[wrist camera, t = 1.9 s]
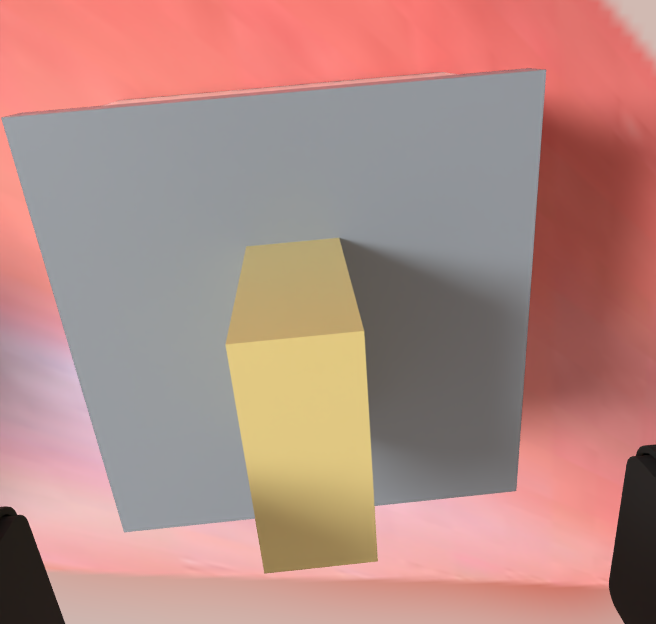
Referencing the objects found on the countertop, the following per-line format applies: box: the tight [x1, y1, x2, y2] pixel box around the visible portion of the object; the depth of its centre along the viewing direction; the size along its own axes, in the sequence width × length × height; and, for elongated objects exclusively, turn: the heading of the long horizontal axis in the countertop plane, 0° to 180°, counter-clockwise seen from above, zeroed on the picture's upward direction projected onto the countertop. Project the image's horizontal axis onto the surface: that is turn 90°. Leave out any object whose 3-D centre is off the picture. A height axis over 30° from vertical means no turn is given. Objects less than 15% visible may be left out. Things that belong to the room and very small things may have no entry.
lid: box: [1, 68, 546, 574], centre depth 13 cm, size 12×12×7 cm
